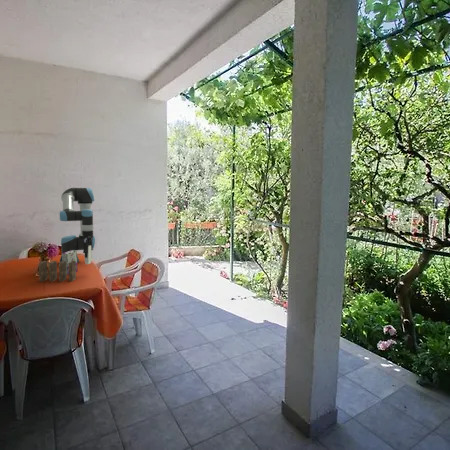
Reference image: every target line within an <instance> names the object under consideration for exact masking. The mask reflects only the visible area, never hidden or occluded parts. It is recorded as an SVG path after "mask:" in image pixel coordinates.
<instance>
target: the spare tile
mask: <svg viewBox="0 0 450 450" xmlns="http://www.w3.org/2000/svg"><path fill="white" fill-rule="evenodd" d="M91 251H92V250H91V245H89V247H88V253H89V262H85V261H84V262H85V263H84V264H85V265H90V264H91V263H92V262H93V260H92V259H93V255H92V256H91Z"/></svg>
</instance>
